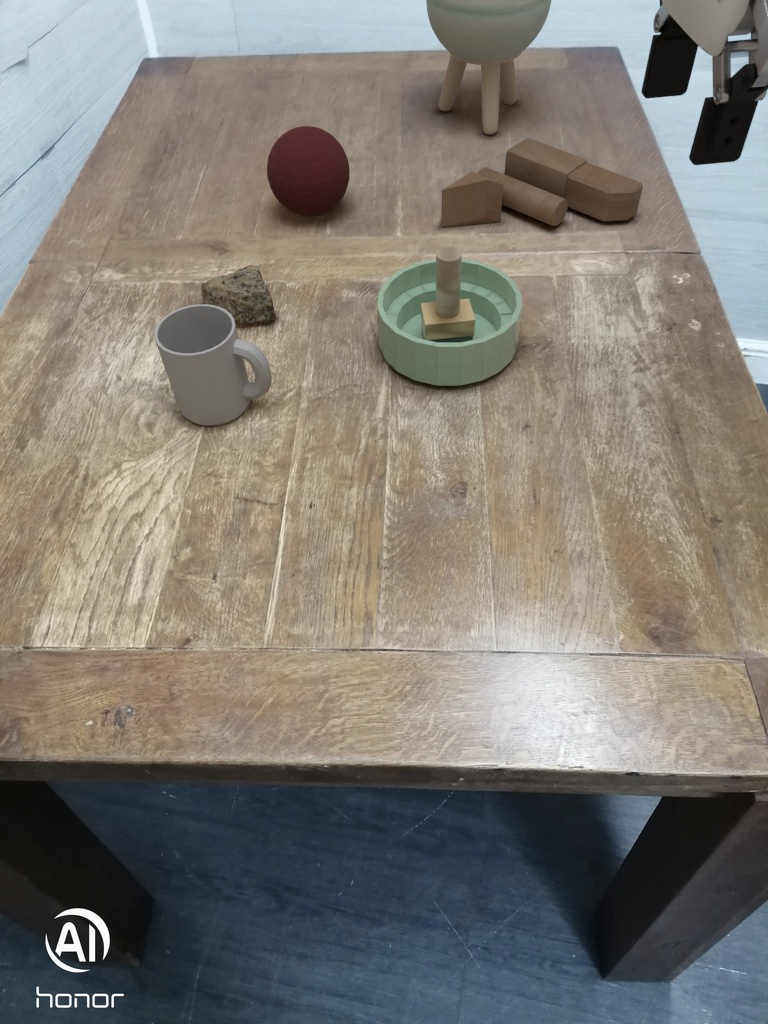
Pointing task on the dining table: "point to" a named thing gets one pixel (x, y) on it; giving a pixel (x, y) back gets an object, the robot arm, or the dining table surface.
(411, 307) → the bowl
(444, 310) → the wooden stamp
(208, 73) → the dining table surface
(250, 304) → the rock
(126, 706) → the dining table surface
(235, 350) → the cup
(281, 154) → the decorative ball
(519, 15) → the planter
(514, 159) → the wooden block set
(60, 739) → the dining table surface
